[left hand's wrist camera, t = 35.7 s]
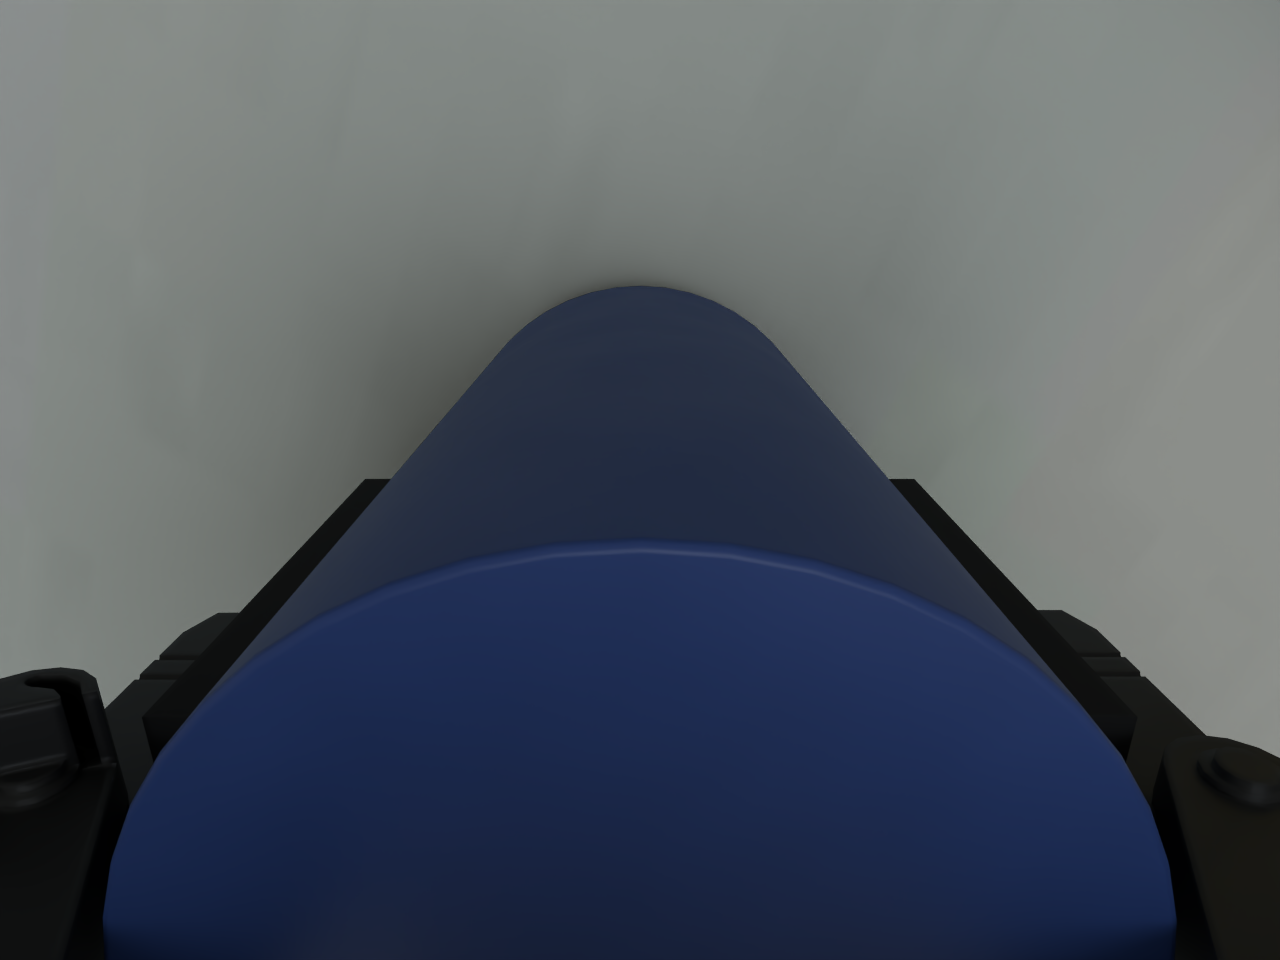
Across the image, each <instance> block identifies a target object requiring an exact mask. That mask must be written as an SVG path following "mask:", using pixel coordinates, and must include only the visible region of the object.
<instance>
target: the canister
mask: <svg viewBox="0 0 1280 960" xmlns="http://www.w3.org/2000/svg"><path fill="white" fill-rule="evenodd" d="M1176 925H1177V919H1176V911H1175V904H1174V897H1173V890H1172V882H1171V875H1170V868H1169V863H1168V859H1167V856H1166V853H1165V850H1164V847H1163V844H1162V841H1161V838H1160V835H1159V832H1158V829H1157V826H1156V823H1155V820H1154V817H1153V814H1152V811H1151V808H1150V806H1149V804H1148V802H1147V801H1146V799H1145V797H1144V795H1143V793H1142V792H1141V790H1140V788H1139V786H1138V784H1137V782H1136V781H1135V779H1134V777H1133V775H1132V773H1131V772H1130V770H1129V768H1128V766H1127V764H1126V763H1125V761H1124V759H1123V757H1122V755H1121V754H1120V753H1119V751H1118V750H1117V749H1116V748H1115V746H1114V745H1113V744H1112V743H1111V741H1110V740H1109V739H1108V738H1107V736H1106V735H1105V734H1104V733H1103V732H1102V730H1101V729H1100V728H1099V727H1098V725H1097V724H1096V723H1095V722H1094V720H1093V719H1092V718H1091V717H1090V715H1089V714H1088V713H1087V712H1086V710H1085V709H1084V708H1083V707H1082V706H1081V704H1080V703H1079V702H1078V701H1077V700H1076V698H1075V697H1074V696H1073V695H1072V694H1071V693H1070V691H1069V690H1068V689H1067V688H1066V687H1065V686H1064V684H1063V683H1062V682H1061V681H1060V680H1059V678H1058V677H1057V676H1056V675H1055V674H1054V673H1053V671H1052V670H1051V669H1050V668H1049V667H1048V666H1047V664H1046V663H1045V662H1044V661H1043V660H1042V659H1041V657H1040V656H1039V655H1038V654H1037V653H1036V651H1035V650H1034V649H1033V648H1032V647H1031V646H1030V644H1029V643H1028V642H1027V641H1026V640H1025V639H1024V637H1023V636H1022V635H1021V634H1020V633H1019V632H1018V630H1017V629H1016V628H1015V627H1014V626H1013V624H1012V623H1011V622H1010V621H1009V620H1008V619H1007V617H1006V616H1005V615H1004V614H1003V613H1002V612H1001V610H1000V609H999V608H998V607H997V606H996V605H995V603H994V602H993V601H992V600H991V599H990V597H989V596H988V595H987V594H986V593H985V592H984V590H983V589H982V588H981V587H980V586H979V585H978V583H977V582H976V581H975V580H974V579H973V578H972V576H971V575H970V574H969V573H968V572H967V571H966V569H965V568H964V567H963V566H962V565H961V563H960V562H959V561H958V560H957V559H956V558H955V556H954V555H953V554H952V553H951V552H950V551H949V549H948V548H947V547H946V546H945V545H944V544H943V542H942V541H941V540H940V539H939V538H938V536H937V535H936V534H935V533H934V532H933V531H932V529H931V528H930V527H929V526H928V525H927V524H926V522H925V521H924V520H923V519H922V518H921V517H920V515H919V514H918V513H917V512H916V511H915V509H914V508H913V507H912V506H911V505H910V504H909V502H908V501H907V500H906V499H905V498H904V497H903V495H902V494H901V493H900V492H899V491H898V490H897V488H896V487H895V486H894V485H893V484H892V482H891V481H890V480H889V479H888V478H887V477H886V475H885V474H884V473H883V472H882V471H881V470H880V468H879V467H878V466H877V465H876V464H875V463H874V461H873V460H872V459H871V458H870V457H869V455H868V454H867V453H866V452H865V451H864V450H863V448H862V447H861V446H860V445H859V444H858V443H857V441H856V440H855V439H854V438H853V437H852V436H851V434H850V433H849V432H848V431H847V430H846V429H845V427H844V426H843V425H842V424H841V423H840V421H839V420H838V419H837V418H836V417H835V416H834V414H833V413H832V412H831V411H830V410H829V409H828V407H827V406H826V405H825V404H824V403H823V402H822V400H821V399H820V398H819V397H818V396H817V394H816V393H815V392H814V391H813V390H812V389H811V387H810V386H809V385H808V384H807V383H806V382H805V380H804V379H803V378H802V377H801V376H800V375H799V373H798V372H797V371H796V370H795V369H794V367H793V366H792V365H791V364H790V363H789V362H788V360H787V359H786V358H785V357H784V356H783V355H782V353H781V352H780V351H779V350H778V349H777V348H776V346H775V345H774V344H773V343H772V342H771V341H770V340H769V339H768V338H767V337H766V336H765V335H764V334H763V333H762V332H760V331H759V330H758V329H757V328H756V327H755V326H754V325H752V324H751V323H750V322H748V321H747V320H745V319H744V318H742V317H741V316H740V315H738V314H737V313H735V312H734V311H732V310H730V309H728V308H726V307H724V306H722V305H720V304H718V303H716V302H714V301H712V300H709V299H706V298H703V297H700V296H698V295H695V294H692V293H689V292H684V291H679V290H674V289H669V288H663V287H649V286H632V287H616V288H611V289H606V290H601V291H596V292H591V293H588V294H585V295H582V296H580V297H577V298H574V299H571V300H568V301H566V302H564V303H562V304H560V305H558V306H556V307H554V308H552V309H550V310H548V311H546V312H545V313H543V314H542V315H540V316H539V317H538V318H536V319H535V320H533V321H532V322H530V323H529V324H527V325H526V326H525V327H524V328H523V329H522V330H521V331H520V332H518V333H517V334H516V335H515V336H514V337H513V338H512V339H511V340H510V341H509V342H508V343H507V344H506V345H505V346H504V348H503V349H502V350H501V351H500V352H499V353H498V355H497V356H496V357H495V358H494V359H493V360H492V362H491V363H490V364H489V365H488V366H487V367H486V369H485V370H484V371H483V372H482V373H481V375H480V376H479V377H478V378H477V379H476V380H475V382H474V383H473V384H472V385H471V386H470V387H469V389H468V390H467V391H466V392H465V393H464V394H463V396H462V397H461V398H460V399H459V400H458V401H457V403H456V404H455V405H454V406H453V407H452V408H451V410H450V411H449V412H448V413H447V414H446V415H445V417H444V418H443V419H442V420H441V421H440V423H439V424H438V425H437V426H436V427H435V428H434V430H433V431H432V432H431V433H430V434H429V435H428V437H427V438H426V439H425V440H424V441H423V442H422V444H421V445H420V446H419V447H418V448H417V449H416V451H415V452H414V453H413V454H412V455H411V456H410V458H409V459H408V460H407V461H406V462H405V463H404V465H403V466H402V467H401V468H400V469H399V471H398V472H397V473H396V474H395V475H394V476H393V478H392V479H391V480H390V481H389V482H388V483H387V485H386V486H385V487H384V488H383V489H382V490H381V492H380V493H379V494H378V495H377V496H376V497H375V499H374V500H373V501H372V502H371V503H370V504H369V506H368V507H367V508H366V509H365V510H364V511H363V513H362V514H361V515H360V516H359V517H358V519H357V520H356V521H355V522H354V523H353V524H352V526H351V527H350V528H349V529H348V530H347V531H346V533H345V534H344V535H343V536H342V537H341V538H340V540H339V541H338V542H337V543H336V544H335V545H334V547H333V548H332V549H331V550H330V551H329V552H328V554H327V555H326V556H325V557H324V558H323V559H322V561H321V562H320V563H319V564H318V565H317V567H316V568H315V569H314V570H313V571H312V572H311V574H310V575H309V576H308V577H307V578H306V579H305V581H304V582H303V583H302V584H301V585H300V586H299V588H298V589H297V590H296V591H295V592H294V593H293V595H292V596H291V597H290V598H289V599H288V600H287V602H286V603H285V604H284V605H283V606H282V607H281V609H280V610H279V611H278V612H277V613H276V615H275V616H274V617H273V618H272V619H271V620H270V622H269V623H268V624H267V625H266V626H265V627H264V629H263V630H262V631H261V632H260V633H259V634H258V636H257V637H256V638H255V639H254V640H253V641H252V643H251V644H250V645H249V646H248V647H247V648H246V650H245V651H244V652H243V653H242V654H241V655H240V657H239V658H238V659H237V660H236V661H235V663H234V664H233V665H232V666H231V667H230V668H229V670H228V671H227V672H226V673H225V674H224V675H223V677H222V678H221V679H220V680H219V681H218V682H217V684H216V685H215V686H214V687H213V688H212V689H211V691H210V692H209V693H208V694H207V695H206V696H205V698H204V699H203V700H202V701H201V702H200V704H199V705H198V706H197V707H196V708H195V710H194V711H193V712H192V713H191V715H190V716H189V717H188V718H187V719H186V721H185V722H184V723H183V724H182V725H181V727H180V728H179V729H178V730H177V732H176V733H175V734H174V735H173V736H172V738H171V739H170V740H169V741H168V743H167V744H166V745H165V746H164V747H163V749H162V750H161V751H160V753H159V754H158V756H157V758H156V760H155V761H154V763H153V765H152V767H151V769H150V770H149V772H148V774H147V776H146V777H145V779H144V781H143V783H142V784H141V786H140V788H139V790H138V792H137V793H136V795H135V797H134V799H133V800H132V802H131V804H130V807H129V810H128V813H127V815H126V818H125V821H124V824H123V827H122V830H121V833H120V836H119V839H118V842H117V844H116V847H115V850H114V853H113V856H112V860H111V864H110V871H109V878H108V885H107V892H106V898H105V905H104V912H103V937H104V960H1175V945H1176Z"/></svg>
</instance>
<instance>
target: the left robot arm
mask: <svg viewBox="0 0 1280 960" xmlns="http://www.w3.org/2000/svg"><path fill="white" fill-rule="evenodd" d="M390 480H391V479H365V480H364V481H363V482H362V483H361V484H360V485H359V486H358V487H357V488H356V489H355V491H354V492H353V493H352V494H351V495H350V496H349V497H348V498H347V499H346V500H345V501H344V502H343V503H342V504H341V505H340V506H339V508H338V509H337V510H336V511H335V512H334V513H333V514H332V515H331V516H330V517H329V518H328V519H327V520H326V521H325V522H324V524H323V525H322V526H321V527H320V528H319V529H318V530H317V531H316V532H315V533H314V534H313V535H312V536H311V537H310V538H309V539H308V541H307V542H306V543H305V544H304V545H303V546H302V547H301V548H300V549H299V550H298V551H297V552H296V553H295V554H294V555H293V557H292V558H291V559H290V560H289V561H288V562H287V563H286V564H285V565H284V566H283V567H282V568H281V569H280V570H279V571H278V572H277V574H276V575H275V576H274V577H273V578H272V579H271V580H270V581H269V582H268V583H267V584H266V585H265V586H264V587H263V588H262V590H261V591H260V592H259V593H258V594H257V595H256V596H255V597H254V598H253V599H252V600H251V601H250V602H249V603H248V604H247V605H246V607H245V608H244V609H243V610H242V611H241V612H240V613H217V614H215V615H214V616H212V617H210V618H208V619H206V620H205V621H203V622H201V623H199V624H197V625H196V626H194V627H192V628H190V629H189V630H187V631H185V632H183V633H182V634H181V635H180V636H179V637H178V638H177V639H176V640H175V641H174V642H173V643H172V644H171V645H170V646H169V647H168V648H167V649H166V650H165V651H164V652H163V653H162V654H161V655H160V659H159V660H154V661H153V662H152V663H151V664H150V665H149V666H148V667H147V668H146V669H145V670H144V671H143V672H142V673H141V674H140V679H139V680H134V681H133V682H132V683H131V684H130V685H129V686H128V687H127V688H126V689H125V690H124V691H123V692H122V693H121V694H120V695H119V696H118V697H117V698H116V699H115V700H114V701H112V702H111V703H110V704H109V705H108V706H107V707H106V708H105V709H104V706H103V702H102V698H101V695H100V691H99V688H98V684H97V680H96V678H95V677H93V676H92V675H90V674H88V673H87V672H85V671H84V670H78V669H70V668H61V667H60V668H51V669H41V670H32V671H28V672H24V673H20V674H17V675H13V676H9V677H5V678H1V679H0V960H104V937H103V912H104V905H105V898H106V892H107V885H108V878H109V871H110V864H111V860H112V856H113V853H114V850H115V847H116V844H117V842H118V839H119V836H120V833H121V830H122V827H123V824H124V821H125V818H126V815H127V813H128V810H129V807H130V804H131V802H132V800H133V799H134V797H135V795H136V793H137V792H138V790H139V788H140V786H141V784H142V783H143V781H144V779H145V777H146V776H147V774H148V772H149V770H150V769H151V767H152V765H153V763H154V761H155V760H156V758H157V756H158V754H159V753H160V751H161V750H162V749H163V747H164V746H165V745H166V744H167V743H168V741H169V740H170V739H171V738H172V736H173V735H174V734H175V733H176V732H177V730H178V729H179V728H180V727H181V725H182V724H183V723H184V722H185V721H186V719H187V718H188V717H189V716H190V715H191V713H192V712H193V711H194V710H195V708H196V707H197V706H198V705H199V704H200V702H201V701H202V700H203V699H204V698H205V696H206V695H207V694H208V693H209V692H210V691H211V689H212V688H213V687H214V686H215V685H216V684H217V682H218V681H219V680H220V679H221V678H222V677H223V675H224V674H225V673H226V672H227V671H228V670H229V668H230V667H231V666H232V665H233V664H234V663H235V661H236V660H237V659H238V658H239V657H240V655H241V654H242V653H243V652H244V651H245V650H246V648H247V647H248V646H249V645H250V644H251V643H252V641H253V640H254V639H255V638H256V637H257V636H258V634H259V633H260V632H261V631H262V630H263V629H264V627H265V626H266V625H267V624H268V623H269V622H270V620H271V619H272V618H273V617H274V616H275V615H276V613H277V612H278V611H279V610H280V609H281V607H282V606H283V605H284V604H285V603H286V602H287V600H288V599H289V598H290V597H291V596H292V595H293V593H294V592H295V591H296V590H297V589H298V588H299V586H300V585H301V584H302V583H303V582H304V581H305V579H306V578H307V577H308V576H309V575H310V574H311V572H312V571H313V570H314V569H315V568H316V567H317V565H318V564H319V563H320V562H321V561H322V559H323V558H324V557H325V556H326V555H327V554H328V552H329V551H330V550H331V549H332V548H333V547H334V545H335V544H336V543H337V542H338V541H339V540H340V538H341V537H342V536H343V535H344V534H345V533H346V531H347V530H348V529H349V528H350V527H351V526H352V524H353V523H354V522H355V521H356V520H357V519H358V517H359V516H360V515H361V514H362V513H363V511H364V510H365V509H366V508H367V507H368V506H369V504H370V503H371V502H372V501H373V500H374V499H375V497H376V496H377V495H378V494H379V493H380V492H381V490H382V489H383V488H384V487H385V486H386V485H387V483H388V482H389V481H390ZM889 480H890V481H891V482H892V484H893V485H894V486H895V487H896V488H897V490H898V491H899V492H900V493H901V494H902V495H903V497H904V498H905V499H906V500H907V501H908V502H909V504H910V505H911V506H912V507H913V508H914V509H915V511H916V512H917V513H918V514H919V515H920V517H921V518H922V519H923V520H924V521H925V522H926V524H927V525H928V526H929V527H930V528H931V529H932V531H933V532H934V533H935V534H936V535H937V536H938V538H939V539H940V540H941V541H942V542H943V544H944V545H945V546H946V547H947V548H948V549H949V551H950V552H951V553H952V554H953V555H954V556H955V558H956V559H957V560H958V561H959V562H960V563H961V565H962V566H963V567H964V568H965V569H966V571H967V572H968V573H969V574H970V575H971V576H972V578H973V579H974V580H975V581H976V582H977V583H978V585H979V586H980V587H981V588H982V589H983V590H984V592H985V593H986V594H987V595H988V596H989V597H990V599H991V600H992V601H993V602H994V603H995V605H996V606H997V607H998V608H999V609H1000V610H1001V612H1002V613H1003V614H1004V615H1005V616H1006V617H1007V619H1008V620H1009V621H1010V622H1011V623H1012V624H1013V626H1014V627H1015V628H1016V629H1017V630H1018V632H1019V633H1020V634H1021V635H1022V636H1023V637H1024V639H1025V640H1026V641H1027V642H1028V643H1029V644H1030V646H1031V647H1032V648H1033V649H1034V650H1035V651H1036V653H1037V654H1038V655H1039V656H1040V657H1041V659H1042V660H1043V661H1044V662H1045V663H1046V664H1047V666H1048V667H1049V668H1050V669H1051V670H1052V671H1053V673H1054V674H1055V675H1056V676H1057V677H1058V678H1059V680H1060V681H1061V682H1062V683H1063V684H1064V686H1065V687H1066V688H1067V689H1068V690H1069V691H1070V693H1071V694H1072V695H1073V696H1074V697H1075V698H1076V700H1077V701H1078V702H1079V703H1080V704H1081V706H1082V707H1083V708H1084V709H1085V710H1086V712H1087V713H1088V714H1089V715H1090V717H1091V718H1092V719H1093V720H1094V722H1095V723H1096V724H1097V725H1098V727H1099V728H1100V729H1101V730H1102V732H1103V733H1104V734H1105V735H1106V736H1107V738H1108V739H1109V740H1110V741H1111V743H1112V744H1113V745H1114V746H1115V748H1116V749H1117V750H1118V751H1119V753H1120V754H1121V755H1122V757H1123V759H1124V761H1125V763H1126V764H1127V766H1128V768H1129V770H1130V772H1131V773H1132V775H1133V777H1134V779H1135V781H1136V782H1137V784H1138V786H1139V788H1140V790H1141V792H1142V793H1143V795H1144V797H1145V799H1146V801H1147V802H1148V804H1149V806H1150V808H1151V811H1152V814H1153V817H1154V820H1155V823H1156V826H1157V829H1158V832H1159V835H1160V838H1161V841H1162V844H1163V847H1164V850H1165V853H1166V856H1167V859H1168V863H1169V868H1170V875H1171V882H1172V890H1173V897H1174V904H1175V911H1176V919H1177V925H1176V945H1175V960H1280V758H1279V757H1276V756H1274V755H1272V754H1270V753H1268V752H1266V751H1264V750H1262V749H1260V748H1257V747H1254V746H1251V745H1248V744H1244V743H1241V742H1238V741H1234V740H1231V739H1228V738H1220V737H1212V736H1206V735H1205V734H1204V733H1203V732H1202V731H1201V730H1200V729H1199V728H1198V727H1197V726H1196V725H1195V724H1194V723H1193V722H1192V721H1191V720H1189V719H1188V718H1187V717H1186V716H1185V715H1184V714H1183V713H1182V712H1181V711H1180V710H1179V709H1178V708H1177V707H1176V706H1175V705H1174V704H1173V703H1172V702H1171V701H1170V700H1169V699H1168V698H1167V697H1166V696H1165V695H1164V694H1163V693H1162V692H1161V691H1160V690H1159V689H1158V688H1156V687H1155V686H1154V685H1153V684H1152V683H1151V682H1150V681H1149V680H1148V679H1147V678H1146V677H1141V676H1140V671H1139V670H1138V669H1137V668H1136V667H1135V666H1134V665H1133V664H1132V663H1131V662H1130V661H1129V660H1128V659H1127V658H1126V657H1121V655H1120V652H1119V651H1118V650H1117V649H1116V648H1115V647H1114V646H1113V645H1112V644H1111V643H1110V642H1109V641H1108V640H1107V639H1106V638H1105V637H1104V636H1103V635H1102V634H1101V633H1100V632H1099V631H1098V630H1096V629H1095V628H1093V627H1091V626H1089V625H1087V624H1086V623H1084V622H1082V621H1080V620H1078V619H1077V618H1075V617H1073V616H1071V615H1069V614H1068V613H1066V612H1064V611H1062V610H1037V609H1036V608H1035V607H1034V606H1033V605H1032V604H1031V603H1030V602H1029V601H1028V600H1027V599H1026V598H1025V597H1024V595H1023V594H1022V593H1021V592H1020V591H1019V590H1018V589H1017V588H1016V587H1015V586H1014V585H1013V584H1012V583H1011V582H1010V581H1009V579H1008V578H1007V577H1006V576H1005V575H1004V574H1003V573H1002V572H1001V571H1000V570H999V569H998V568H997V567H996V566H995V565H994V564H993V562H992V561H991V560H990V559H989V558H988V557H987V556H986V555H985V554H984V553H983V552H982V551H981V550H980V549H979V548H978V546H977V545H976V544H975V543H974V542H973V541H972V540H971V539H970V538H969V537H968V536H967V535H966V534H965V533H964V532H963V530H962V529H961V528H960V527H959V526H958V525H957V524H956V523H955V522H954V521H953V520H952V519H951V518H950V517H949V516H948V515H947V513H946V512H945V511H944V510H943V509H942V508H941V507H940V506H939V505H938V504H937V503H936V502H935V501H934V500H933V499H932V497H931V496H930V495H929V494H928V493H927V492H926V491H925V490H924V489H923V488H922V487H921V486H920V485H919V484H918V483H917V482H916V480H915V479H889Z"/></svg>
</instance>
